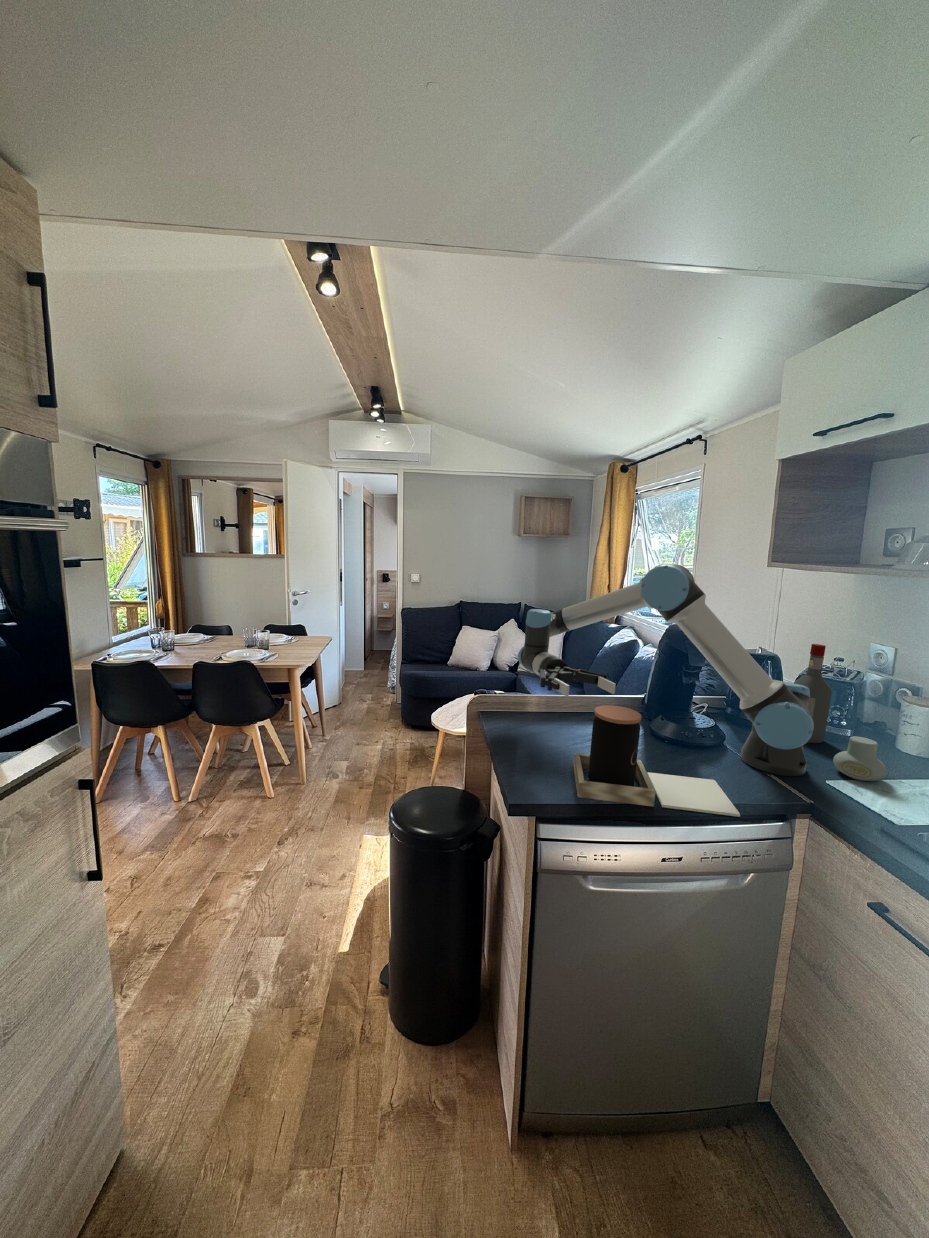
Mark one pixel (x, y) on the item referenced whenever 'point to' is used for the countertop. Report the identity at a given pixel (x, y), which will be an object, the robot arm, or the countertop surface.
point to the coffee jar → (614, 745)
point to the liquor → (817, 693)
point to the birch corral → (613, 785)
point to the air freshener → (860, 760)
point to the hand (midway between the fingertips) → (591, 689)
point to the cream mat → (691, 794)
